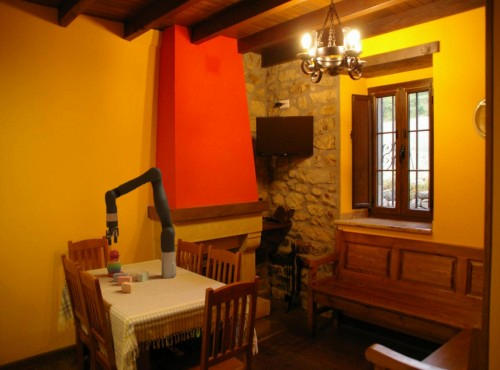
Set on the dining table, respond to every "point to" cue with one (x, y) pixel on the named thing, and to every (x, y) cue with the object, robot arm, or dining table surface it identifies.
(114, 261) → the stacking bear
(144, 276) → the sage brick
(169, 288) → the dining table surface
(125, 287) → the ochre brick
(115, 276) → the slate brick
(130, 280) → the terracotta brick
